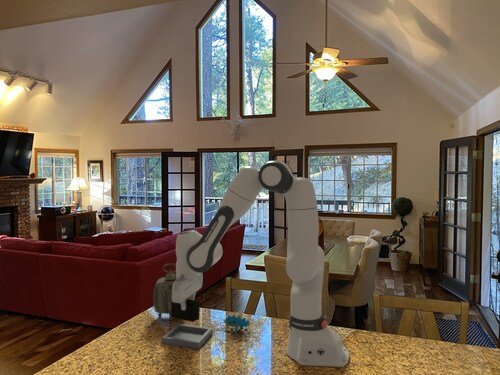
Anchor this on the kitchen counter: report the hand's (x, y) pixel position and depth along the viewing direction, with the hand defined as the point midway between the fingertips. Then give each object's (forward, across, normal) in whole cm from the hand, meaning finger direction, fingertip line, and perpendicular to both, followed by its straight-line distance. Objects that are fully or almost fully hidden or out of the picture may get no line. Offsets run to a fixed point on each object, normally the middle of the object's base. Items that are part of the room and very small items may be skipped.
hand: (187, 306), depth 148 cm
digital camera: (+4, -1, 0) cm, 5 cm away
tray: (+13, 0, 0) cm, 13 cm away
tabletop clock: (+13, +16, +16) cm, 26 cm away
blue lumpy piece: (+13, +13, -16) cm, 25 cm away
